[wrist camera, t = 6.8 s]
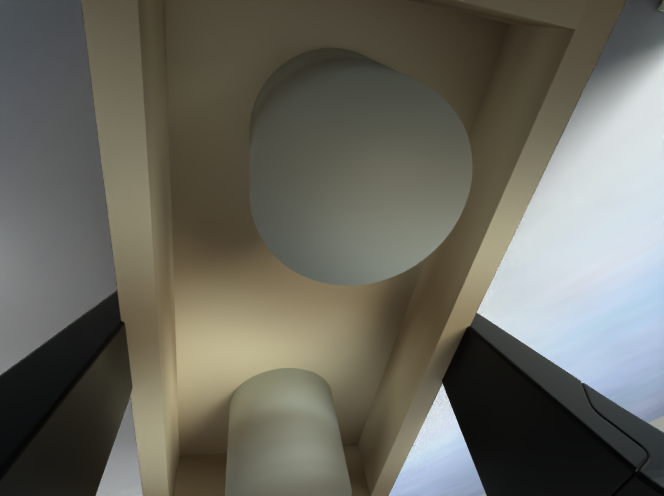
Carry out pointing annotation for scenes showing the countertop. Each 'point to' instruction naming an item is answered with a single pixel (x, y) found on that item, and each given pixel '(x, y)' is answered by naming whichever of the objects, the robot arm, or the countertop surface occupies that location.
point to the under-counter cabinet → (661, 6)
